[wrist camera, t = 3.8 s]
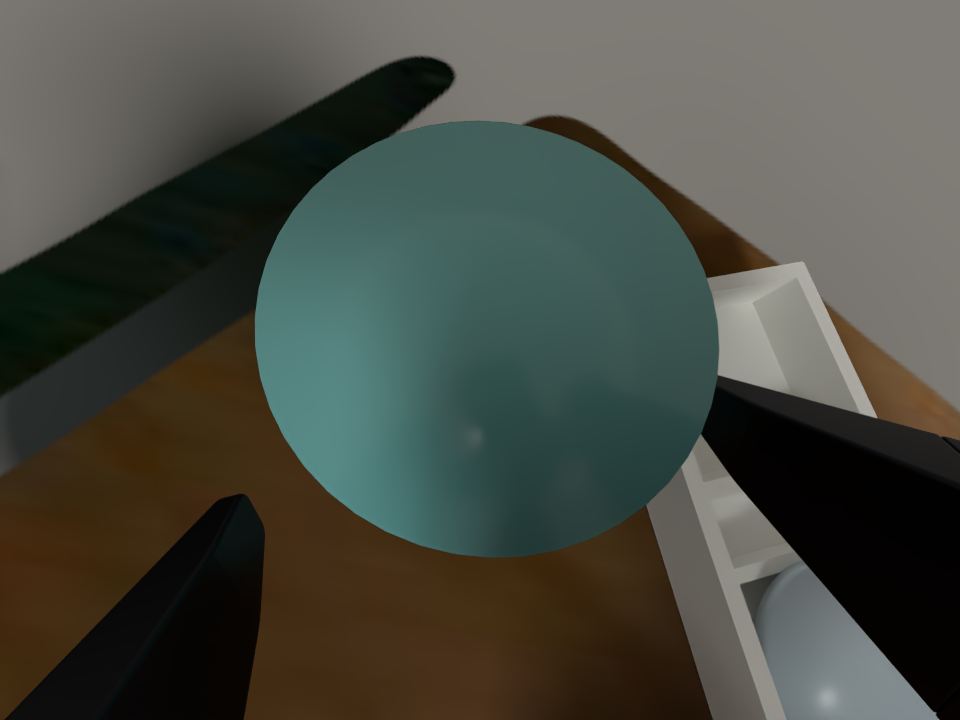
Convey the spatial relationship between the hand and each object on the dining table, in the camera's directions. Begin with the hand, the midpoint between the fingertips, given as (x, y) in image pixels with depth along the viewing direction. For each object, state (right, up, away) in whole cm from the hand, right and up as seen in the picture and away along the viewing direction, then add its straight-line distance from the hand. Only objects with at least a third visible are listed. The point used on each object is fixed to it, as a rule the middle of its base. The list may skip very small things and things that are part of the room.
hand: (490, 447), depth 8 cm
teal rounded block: (-1, -1, +9) cm, 9 cm away
